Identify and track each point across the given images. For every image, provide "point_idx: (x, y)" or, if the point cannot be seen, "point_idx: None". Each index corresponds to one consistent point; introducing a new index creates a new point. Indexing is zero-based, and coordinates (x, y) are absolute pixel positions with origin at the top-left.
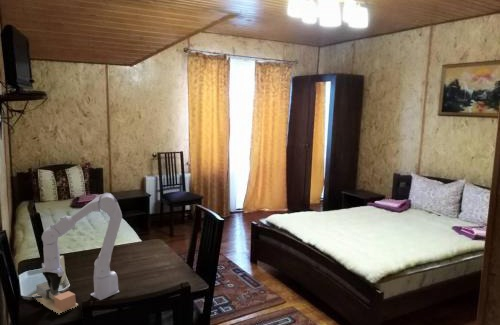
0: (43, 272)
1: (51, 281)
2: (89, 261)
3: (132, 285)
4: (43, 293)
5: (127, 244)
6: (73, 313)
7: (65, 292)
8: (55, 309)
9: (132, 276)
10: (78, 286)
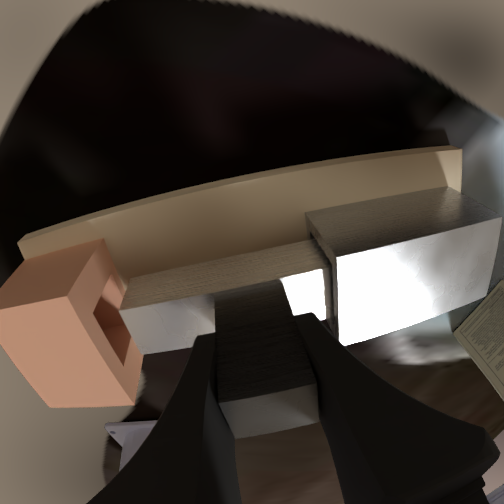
0: (476, 469)
1: (173, 437)
2: (490, 409)
3: None
4: (367, 222)
5: None
6: None
7: (113, 384)
8: (63, 233)
9: (260, 497)
10: None
